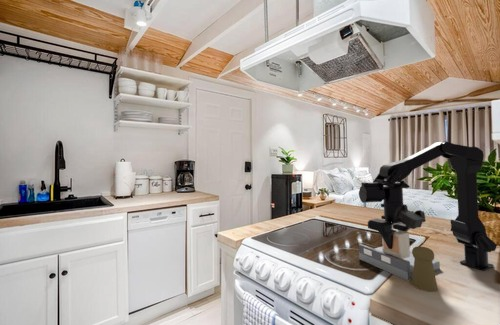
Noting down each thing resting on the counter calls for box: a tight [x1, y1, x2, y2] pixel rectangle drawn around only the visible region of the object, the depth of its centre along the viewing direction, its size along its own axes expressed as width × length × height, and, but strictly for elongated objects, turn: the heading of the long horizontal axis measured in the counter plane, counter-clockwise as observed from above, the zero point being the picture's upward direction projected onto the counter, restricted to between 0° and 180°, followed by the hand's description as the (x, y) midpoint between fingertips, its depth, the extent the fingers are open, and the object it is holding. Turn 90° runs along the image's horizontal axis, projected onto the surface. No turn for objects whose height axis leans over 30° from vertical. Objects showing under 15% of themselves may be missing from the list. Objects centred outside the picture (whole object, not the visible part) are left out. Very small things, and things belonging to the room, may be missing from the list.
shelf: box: [358, 243, 441, 281], centre depth 83 cm, size 16×18×6 cm
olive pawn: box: [411, 245, 438, 292], centre depth 68 cm, size 6×6×11 cm
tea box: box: [381, 228, 411, 259], centre depth 80 cm, size 6×5×8 cm
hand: (395, 247), depth 80 cm, fingers closed on tea box, 5 cm apart
